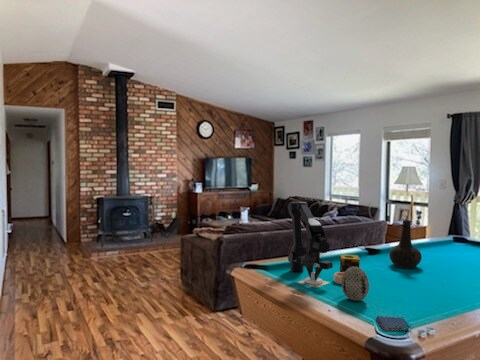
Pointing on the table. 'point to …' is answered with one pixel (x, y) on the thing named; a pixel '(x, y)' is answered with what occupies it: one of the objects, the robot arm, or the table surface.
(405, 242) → the dark brown vase
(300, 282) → the mat
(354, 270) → the decorative egg
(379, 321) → the woven mat
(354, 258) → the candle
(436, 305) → the table surface
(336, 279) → the bowl
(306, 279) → the lid
